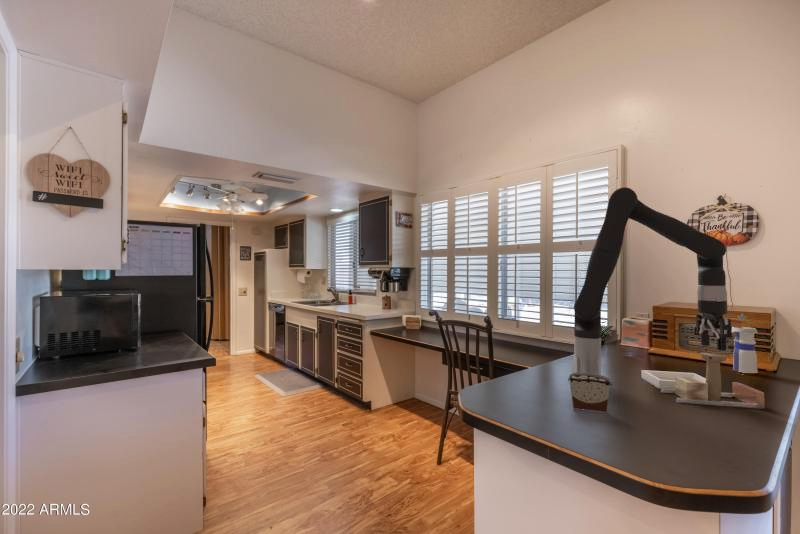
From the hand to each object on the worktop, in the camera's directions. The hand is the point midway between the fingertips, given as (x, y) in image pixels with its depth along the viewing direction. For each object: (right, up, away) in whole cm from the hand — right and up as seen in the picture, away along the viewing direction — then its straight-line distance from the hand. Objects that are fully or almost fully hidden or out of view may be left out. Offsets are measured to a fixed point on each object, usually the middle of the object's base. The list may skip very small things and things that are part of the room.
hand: (713, 347), depth 120 cm
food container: (-46, -17, -8) cm, 49 cm away
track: (-1, -17, 0) cm, 17 cm away
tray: (0, -18, +16) cm, 24 cm away
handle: (0, -18, 0) cm, 18 cm away
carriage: (-7, -17, +1) cm, 19 cm away
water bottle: (+43, -19, +34) cm, 58 cm away
